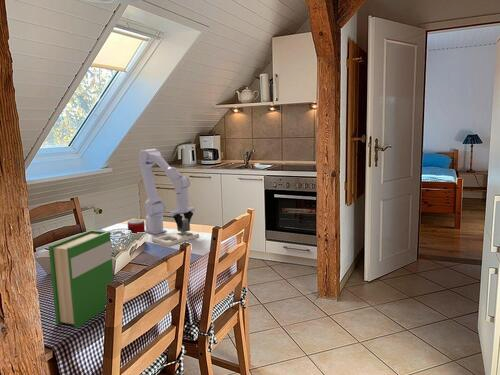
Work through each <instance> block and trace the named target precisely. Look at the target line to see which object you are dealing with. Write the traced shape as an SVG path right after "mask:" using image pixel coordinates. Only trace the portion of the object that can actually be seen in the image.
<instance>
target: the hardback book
mask: <svg viewBox="0 0 500 375" xmlns="http://www.w3.org/2000/svg"><path fill="white" fill-rule="evenodd" d="M48 254H49V264H50V274H51V283H52V284H51V285H52V296H53V303H54V304H53V305H54V316H55V323H56V326H59V325H62V324H63V323H64V324H71V325H73V328H74V329H78V328H80V327H81V326H83V325H85V323H86V321H87V322H89V321H90V320H91V319H93V318H94V317H96V316H97V315H99V314H100V313H101V312H104V310H106V309H105V305H106V287H107V285H108V284H110V283H113V282H114V270H113V269H114V268H113V258H112V257H113V256H112V243H111V231H105V230H98V229H97V230H95V229H90V230H87V231H84V232H82V233H80V234H76V235H74V236H71V237H69V238H66V239H64V240H61V241H58V242H56V243H53V244H50V245H48ZM95 315H96V316H95ZM93 316H94V317H93ZM92 317H93V318H92ZM89 319H90V320H89Z"/></svg>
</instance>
